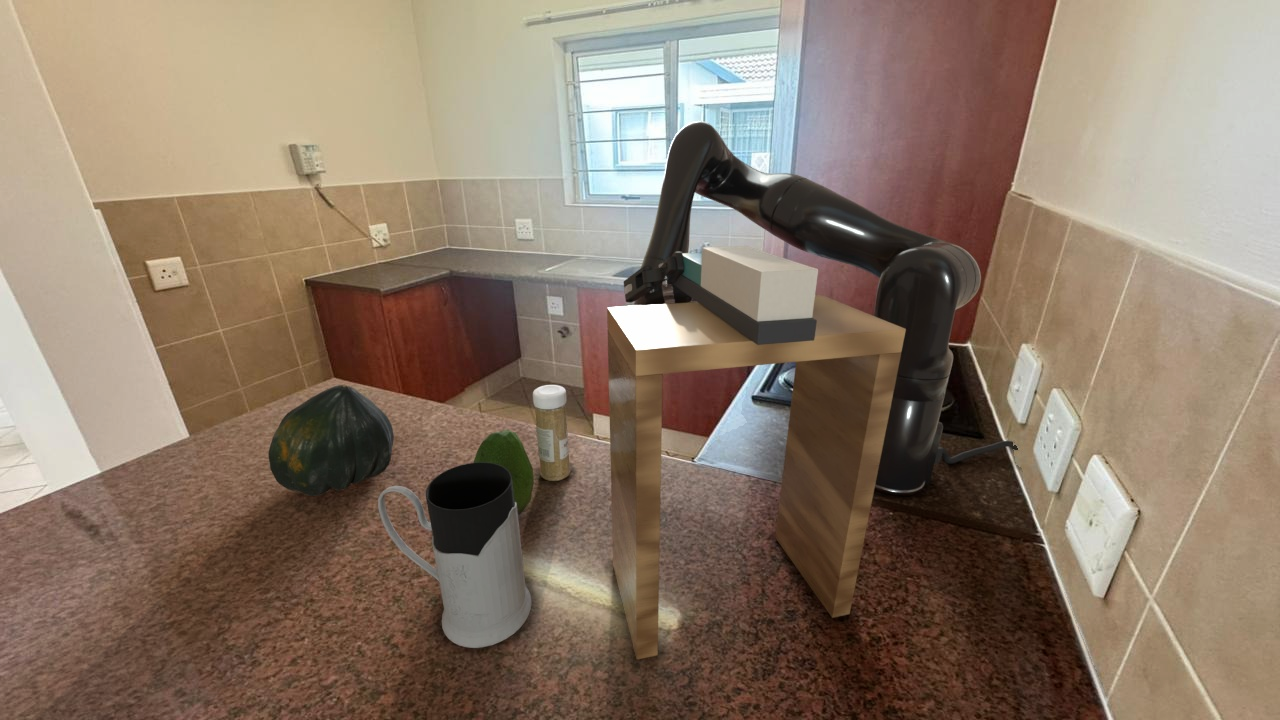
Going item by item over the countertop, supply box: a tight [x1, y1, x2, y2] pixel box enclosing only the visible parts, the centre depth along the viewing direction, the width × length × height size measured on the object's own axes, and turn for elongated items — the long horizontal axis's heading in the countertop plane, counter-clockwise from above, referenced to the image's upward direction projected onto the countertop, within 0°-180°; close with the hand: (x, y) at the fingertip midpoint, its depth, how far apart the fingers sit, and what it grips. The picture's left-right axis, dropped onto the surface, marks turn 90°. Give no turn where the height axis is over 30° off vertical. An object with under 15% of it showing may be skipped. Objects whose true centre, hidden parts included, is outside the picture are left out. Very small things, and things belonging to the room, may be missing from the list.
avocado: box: [472, 429, 535, 516], centre depth 63 cm, size 8×8×12 cm
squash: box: [268, 384, 395, 497], centre depth 70 cm, size 14×15×15 cm
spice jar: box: [532, 384, 572, 482], centre depth 71 cm, size 5×5×13 cm
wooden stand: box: [606, 294, 906, 660], centre depth 48 cm, size 22×12×30 cm, turn 103°
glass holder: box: [377, 462, 533, 649], centre depth 49 cm, size 9×14×15 cm, turn 80°
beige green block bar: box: [672, 245, 819, 345], centre depth 45 cm, size 5×22×5 cm, turn 13°
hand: (704, 259), depth 51 cm, fingers closed on beige green block bar, 4 cm apart
